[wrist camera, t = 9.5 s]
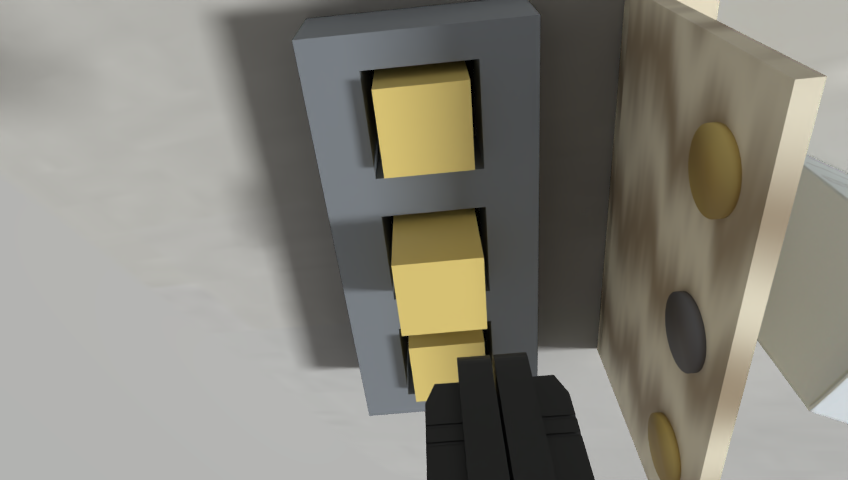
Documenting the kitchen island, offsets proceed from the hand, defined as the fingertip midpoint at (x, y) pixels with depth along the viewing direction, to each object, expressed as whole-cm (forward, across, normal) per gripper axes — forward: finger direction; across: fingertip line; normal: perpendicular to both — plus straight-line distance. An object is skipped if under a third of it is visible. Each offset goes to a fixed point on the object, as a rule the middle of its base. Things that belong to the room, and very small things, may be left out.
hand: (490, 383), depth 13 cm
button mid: (+17, +1, +7) cm, 18 cm away
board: (+20, +1, +7) cm, 21 cm away
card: (+20, -10, +7) cm, 23 cm away
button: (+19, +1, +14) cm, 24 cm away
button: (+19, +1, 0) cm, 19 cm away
